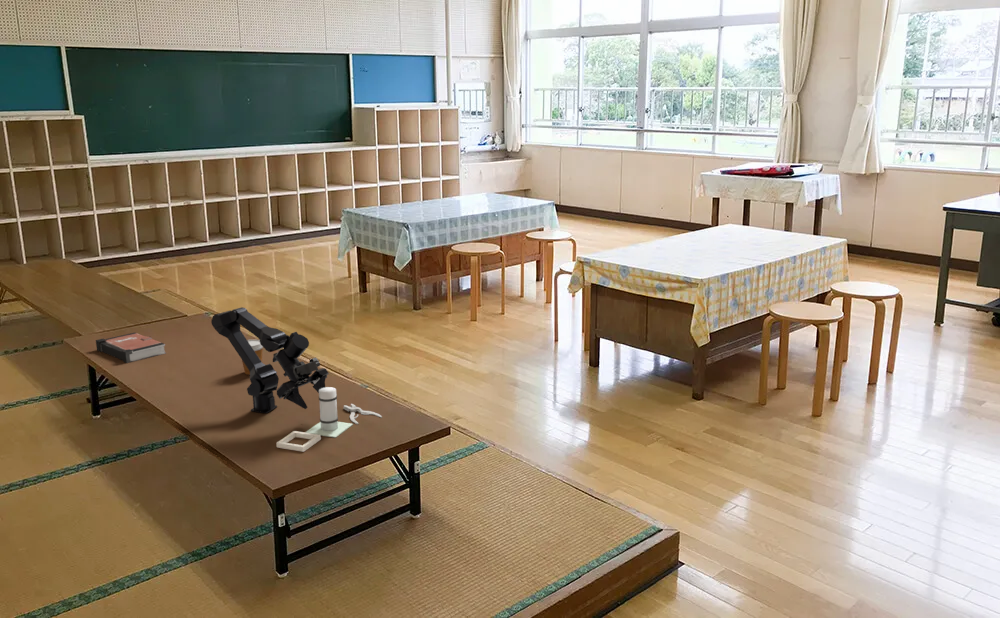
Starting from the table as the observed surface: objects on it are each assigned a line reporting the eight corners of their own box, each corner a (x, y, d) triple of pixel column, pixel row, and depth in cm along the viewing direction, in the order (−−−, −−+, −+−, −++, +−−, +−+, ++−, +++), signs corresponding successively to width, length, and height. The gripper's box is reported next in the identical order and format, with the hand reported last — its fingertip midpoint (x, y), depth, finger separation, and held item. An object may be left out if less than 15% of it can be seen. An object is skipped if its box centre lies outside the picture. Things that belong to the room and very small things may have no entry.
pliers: (356, 421, 265) (334, 407, 276) (356, 425, 265) (335, 412, 277) (382, 413, 271) (360, 401, 282) (382, 418, 271) (360, 405, 283)
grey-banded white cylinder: (319, 431, 259) (317, 393, 256) (321, 424, 264) (319, 387, 261) (337, 431, 259) (335, 393, 256) (339, 424, 265) (337, 386, 261)
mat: (305, 433, 259) (305, 432, 259) (323, 420, 269) (323, 419, 269) (335, 437, 255) (335, 436, 255) (353, 424, 265) (353, 423, 265)
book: (167, 353, 339) (166, 342, 337) (126, 364, 326) (125, 352, 324) (137, 342, 355) (135, 331, 354) (97, 351, 342) (95, 340, 341)
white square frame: (276, 447, 248) (276, 442, 248) (294, 435, 257) (294, 430, 257) (303, 451, 245) (303, 447, 245) (320, 439, 254) (320, 435, 253)
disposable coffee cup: (269, 368, 319) (267, 339, 316) (260, 376, 310) (257, 347, 307) (246, 367, 320) (243, 338, 317) (236, 376, 311) (233, 346, 308)
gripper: (280, 359, 253) (307, 400, 250) (323, 344, 268) (349, 382, 266) (264, 378, 259) (290, 418, 257) (307, 362, 275) (332, 399, 272)
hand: (316, 404), depth 263 cm, fingers open, 9 cm apart
